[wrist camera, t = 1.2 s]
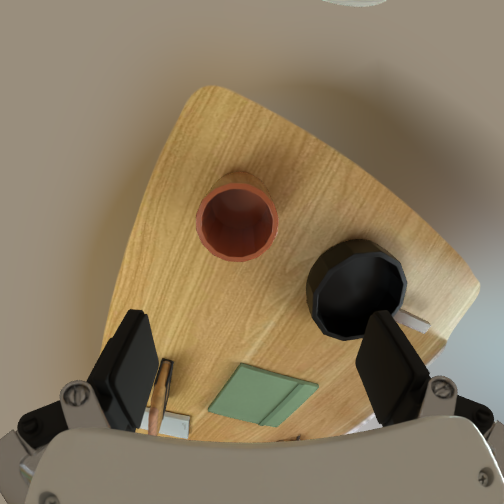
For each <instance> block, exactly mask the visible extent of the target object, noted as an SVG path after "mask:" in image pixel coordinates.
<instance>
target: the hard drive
mask: <svg viewBox="0 0 504 504" xmlns="http://www.w3.org/2000/svg"><path fill="white" fill-rule="evenodd" d="M149 411H150V408H148V407H146V409H145V412H144V416H143V419H142V423H141V426H140V428H142V429H145V430H148V417H149ZM189 420H190V416H185V415H180V414H175V413H170V412H165V414H164V418H163V420H162V423H161V427H160V431H159V433H162V434H166V435H171V436H175V437H180V438H186V439H188V435H189Z"/></svg>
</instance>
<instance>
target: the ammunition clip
mask: <svg viewBox="0 0 504 504" xmlns="http://www.w3.org/2000/svg"><path fill="white" fill-rule="evenodd" d="M173 363H174V362H173V361H170V360H166V359H162V360H161V363H160V367H159V370H158V373H157V376H156V380H155V383H154V391H153V394H152V398H151V406H150V411H149V417H148V435H153V436H157V435H158V433H159V431H160V427H161V423H162V420H163V418H164V414H165V409H166V405H167V401H168V396H169V389H170V382H171V376H172V370H173Z"/></svg>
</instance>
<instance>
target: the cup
mask: <svg viewBox="0 0 504 504" xmlns="http://www.w3.org/2000/svg"><path fill="white" fill-rule="evenodd" d="M278 222H279V219H278V215H277V211H276V208H275V205H274V203H273V200H272V198H271V196H270V193H269V191H268V189H267V187H266V186H265V185H264V183H263V182H262V181H261V180H260V179H259V178H257V177H256V176H254V175H252V174H249V173H245V172H233V173H230V174H227V175H225V176H223V177H221V178H220V179H219V180H218V181H217V182H216V183H215V184H214V185H213V186H212V188H211V189H210V190H209V192H208V193H207V194H206V196H205V197H204V199H203V200H202V202H201V204H200V207H199V209H198V211H197V214H196V231H197V233H198V236H199V238H200V240H201V243H202V244H203V245H204V246H205V247H206V248H207V249H208V250H209V251H210V252H211V253H212V254H213V255H214V256H217V257H219V258H221V259H224V260H226V261H233V262H245V261H248V260H251V259H254V258H257V257H259V256H260V255H261V254H262V253H264V252H265V251H266V250H267V249H269V248H270V246H271V245H272V243H273V241H274V239H275V237H276V235H277V232H278Z"/></svg>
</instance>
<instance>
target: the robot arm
mask: <svg viewBox="0 0 504 504" xmlns="http://www.w3.org/2000/svg"><path fill="white" fill-rule="evenodd" d="M158 366H159V361H158V356H157V352H156V349H155V345H154V340H153V336H152V332H151V328H150V323H149V319H148V315H147V314H144V312H143V311H142V310H133V309H130V310H128V312H127V314H126V315H125V317H124V319H123V320H122V322H121V324H120V326H119V327H118V329H117V331H116V332H115V334H114V336H113V338H110V339H109V341H108V342H107V344H106V346H105V348H104V350H103V351H102V353H101V355H100V357H99V359H98V360H97V363H96V364H95V366H94V368H93V370H92V372H91V374H90V376H89V377H88V379H87V381H86V382H85V381H81V380H76V381H72V382H70V383H68V384H66V385H65V386H64V387H63V389H62V390H61V392H60V400H59V401H57V402H54V403H52V404H49V405H47V406H44V407H42V408H39V409H37V410H34V411H31V412H29V413H27V414H25V415H23V416H22V417H21V419H20V420H19V422H18V427H17V428H18V430H17V431H16V432H15V431H14V430H11V431H10V432H9V433H8V434H6V435H5V436H4V437H2V438H1V439H0V493H1V494H2V496H3V497H4V499H5V501H6V502H7V504H504V425H503V424H502V423H501V422H499V421H498V420H497V421H496V422H494V416H493V413H492V411H491V410H490V409H489V408H488V407H486V406H485V405H482V404H479V403H477V402H474V401H472V400H469V399H466V398H464V397H461V396H459V395H457V387H456V385H455V383H454V382H453V381H452V380H451V379H449V378H447V377H445V376H435V377H432V378H430V376H429V374H430V373H429V371H428V369H427V368H426V366H425V365H424V363H423V362H422V360H421V358H420V357H419V355H418V354H417V352H416V351H415V349H414V348H413V346H412V345H411V343H410V342H409V340H408V339H407V337H406V336H405V334H404V333H403V331H402V330H401V329H400V327H399V326H398V324H397V323H396V321H395V320H394V318H393V317H392V316H391V314H390V313H389V312H388V311H387V310H384V311H375V312H374V313H373V315H371V316H370V318H369V321H368V324H367V327H366V330H365V334H364V337H363V340H362V343H361V346H360V349H359V352H358V355H357V357H356V368H357V370H358V373H359V375H360V377H361V380H362V382H363V385H364V387H365V390H366V392H367V395H368V397H369V400H370V402H371V405H372V408H373V410H374V413H375V415H376V418H377V420H378V422H379V424H382V426H383V427H382V428H377V429H373V430H368V431H364V432H358V433H352V434H347V435H340V436H334V437H326V438H318V439H310V440H299V441H286V442H264V443H232V442H209V441H196V440H185V439H176V438H168V437H160V436H153V435H147V434H141V433H135V430H136V428H138V429H139V428H140V426H141V423H142V419H143V416H144V412H145V409H146V405H147V402H148V399H149V395H150V392H151V389H152V386H153V382H154V379H155V376H156V373H157V370H158Z"/></svg>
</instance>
